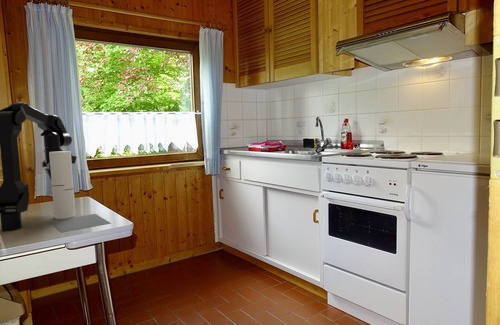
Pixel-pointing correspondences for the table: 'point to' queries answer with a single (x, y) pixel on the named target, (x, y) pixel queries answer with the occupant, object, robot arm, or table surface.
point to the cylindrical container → (62, 184)
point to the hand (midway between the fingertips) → (55, 185)
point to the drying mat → (79, 222)
